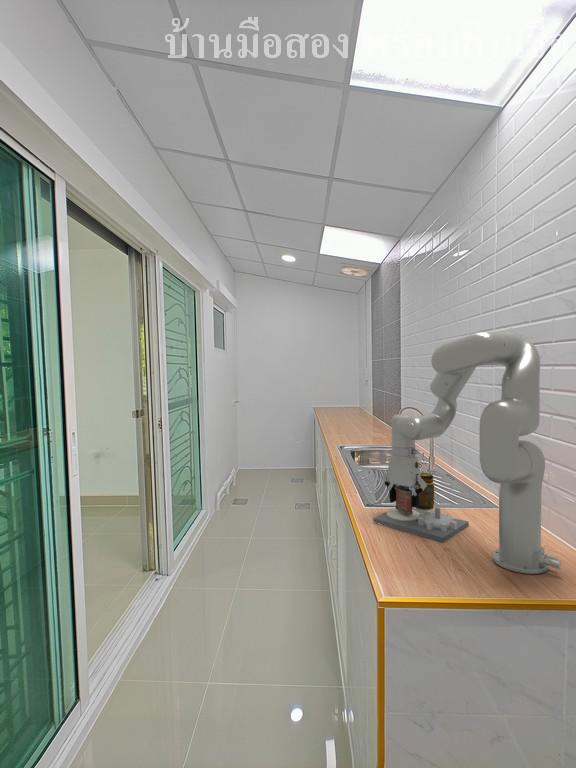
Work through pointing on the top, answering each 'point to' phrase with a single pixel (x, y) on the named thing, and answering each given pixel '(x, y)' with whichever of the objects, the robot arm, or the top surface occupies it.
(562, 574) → the top surface
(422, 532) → the gear board
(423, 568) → the top surface
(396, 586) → the top surface
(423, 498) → the condiment
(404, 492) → the lighter
